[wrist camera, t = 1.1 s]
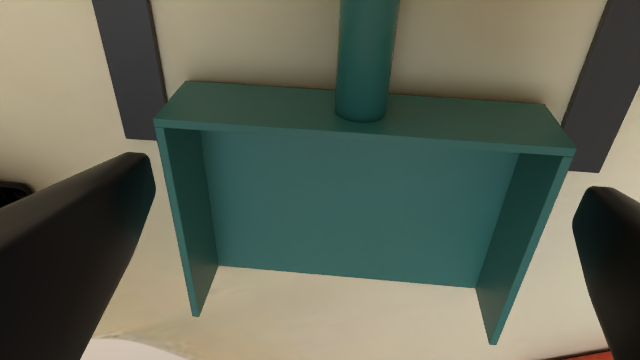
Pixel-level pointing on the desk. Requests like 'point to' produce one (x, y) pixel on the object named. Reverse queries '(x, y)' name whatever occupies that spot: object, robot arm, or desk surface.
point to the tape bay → (579, 124)
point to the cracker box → (595, 356)
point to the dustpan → (361, 177)
